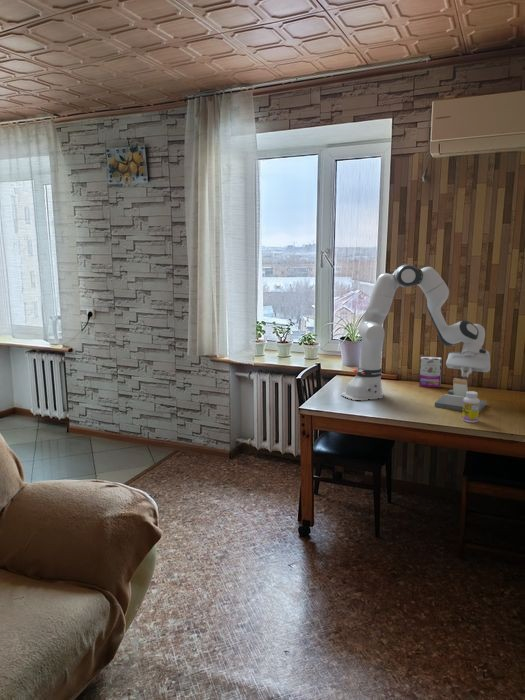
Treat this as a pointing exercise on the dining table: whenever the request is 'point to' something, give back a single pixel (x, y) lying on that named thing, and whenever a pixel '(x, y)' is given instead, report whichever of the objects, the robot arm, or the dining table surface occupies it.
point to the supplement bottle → (470, 407)
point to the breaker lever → (460, 387)
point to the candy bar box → (430, 371)
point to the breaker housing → (454, 402)
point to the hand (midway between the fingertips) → (464, 376)
